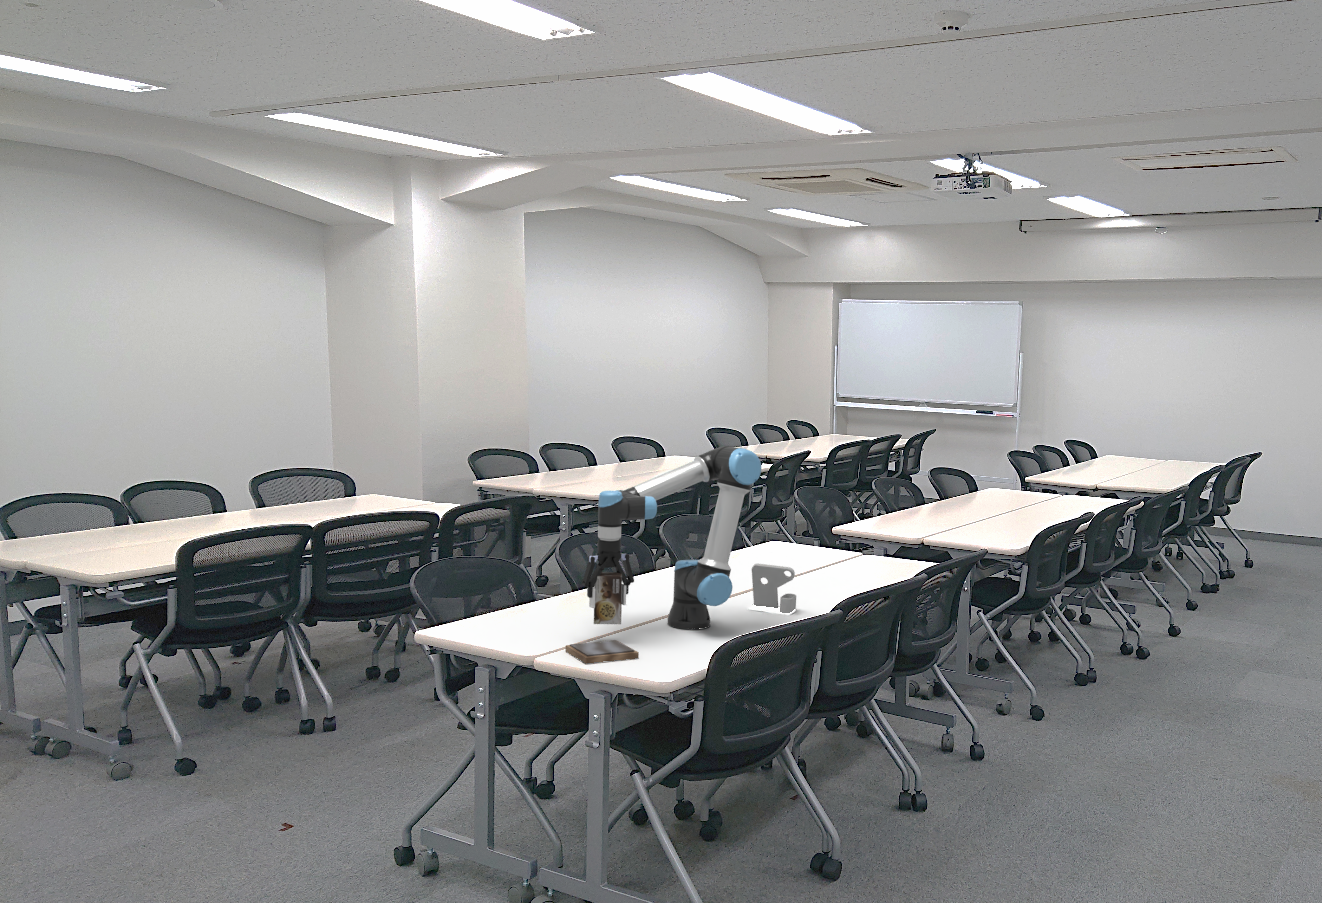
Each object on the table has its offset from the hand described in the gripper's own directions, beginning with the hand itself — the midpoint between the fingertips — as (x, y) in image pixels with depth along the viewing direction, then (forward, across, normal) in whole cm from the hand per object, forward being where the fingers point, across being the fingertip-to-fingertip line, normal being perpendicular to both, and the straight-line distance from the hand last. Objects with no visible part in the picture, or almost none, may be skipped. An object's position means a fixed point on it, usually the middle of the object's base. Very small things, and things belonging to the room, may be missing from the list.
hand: (607, 605), depth 352 cm
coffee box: (+6, 0, 0) cm, 6 cm away
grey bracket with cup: (+13, -79, -20) cm, 83 cm away
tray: (+12, +8, +14) cm, 20 cm away
